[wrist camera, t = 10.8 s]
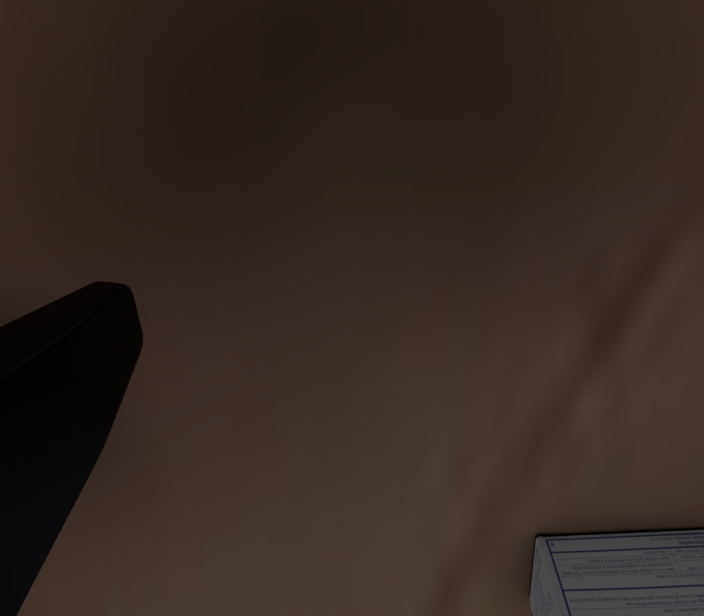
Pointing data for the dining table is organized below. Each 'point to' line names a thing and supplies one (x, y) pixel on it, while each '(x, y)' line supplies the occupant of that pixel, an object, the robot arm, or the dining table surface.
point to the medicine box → (619, 574)
